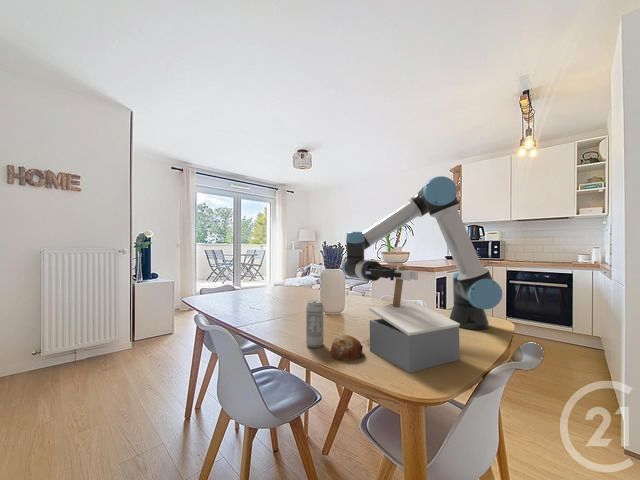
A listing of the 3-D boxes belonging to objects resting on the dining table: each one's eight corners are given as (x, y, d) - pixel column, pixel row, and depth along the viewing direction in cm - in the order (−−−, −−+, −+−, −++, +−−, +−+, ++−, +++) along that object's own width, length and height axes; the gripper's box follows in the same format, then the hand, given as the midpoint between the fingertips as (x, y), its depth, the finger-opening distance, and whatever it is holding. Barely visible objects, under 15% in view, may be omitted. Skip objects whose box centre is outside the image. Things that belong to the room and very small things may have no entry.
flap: (415, 304, 101) (420, 264, 99) (459, 326, 85) (466, 279, 83) (369, 309, 92) (373, 266, 90) (408, 335, 76) (415, 283, 74)
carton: (415, 341, 101) (415, 313, 101) (459, 359, 85) (459, 326, 85) (369, 350, 92) (369, 320, 92) (409, 372, 76) (409, 335, 76)
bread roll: (335, 359, 94) (325, 337, 94) (363, 346, 94) (353, 325, 94) (336, 372, 84) (325, 348, 84) (367, 358, 84) (356, 334, 84)
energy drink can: (325, 342, 100) (325, 300, 100) (320, 348, 94) (320, 304, 94) (309, 341, 101) (309, 299, 102) (303, 347, 95) (303, 303, 96)
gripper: (384, 278, 113) (431, 286, 92) (352, 281, 106) (394, 289, 85) (384, 260, 113) (430, 263, 92) (352, 261, 106) (393, 264, 85)
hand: (413, 275), depth 88 cm, fingers closed on flap, 2 cm apart
